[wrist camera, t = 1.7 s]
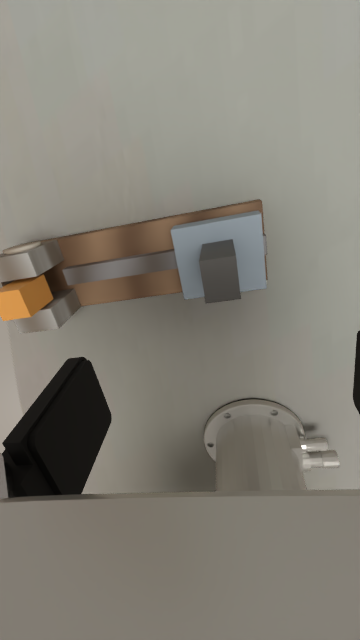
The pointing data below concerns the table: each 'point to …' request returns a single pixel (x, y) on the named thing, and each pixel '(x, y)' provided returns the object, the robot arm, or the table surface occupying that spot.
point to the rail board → (105, 264)
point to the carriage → (220, 256)
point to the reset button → (24, 297)
